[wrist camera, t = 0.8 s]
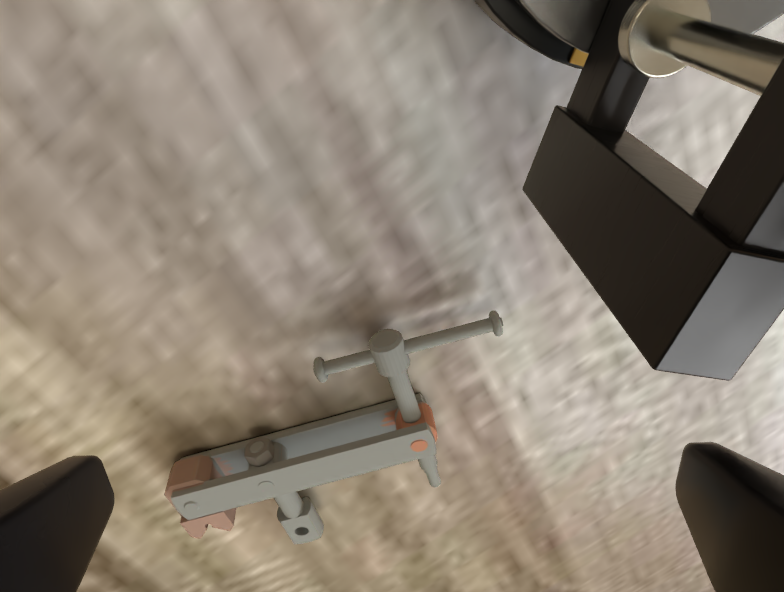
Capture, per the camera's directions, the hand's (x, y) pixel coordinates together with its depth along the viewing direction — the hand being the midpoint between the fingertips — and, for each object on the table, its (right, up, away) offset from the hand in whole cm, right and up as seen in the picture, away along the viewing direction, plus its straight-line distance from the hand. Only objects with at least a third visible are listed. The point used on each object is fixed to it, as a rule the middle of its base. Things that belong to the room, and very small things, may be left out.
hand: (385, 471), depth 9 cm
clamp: (-2, -3, +16) cm, 17 cm away
